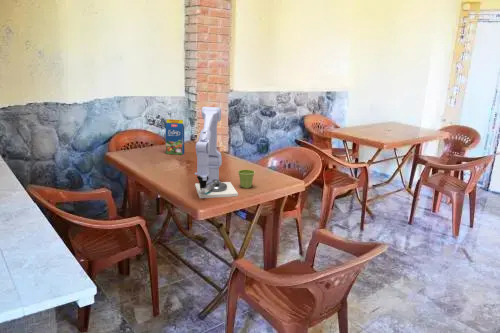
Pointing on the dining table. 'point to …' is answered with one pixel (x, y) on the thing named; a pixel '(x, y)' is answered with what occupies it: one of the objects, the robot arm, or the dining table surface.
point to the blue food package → (174, 137)
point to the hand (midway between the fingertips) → (202, 189)
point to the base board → (226, 193)
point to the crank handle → (214, 187)
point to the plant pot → (246, 178)
